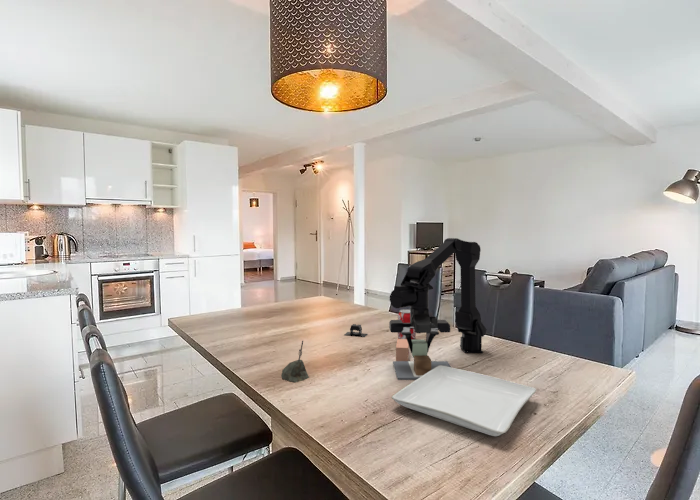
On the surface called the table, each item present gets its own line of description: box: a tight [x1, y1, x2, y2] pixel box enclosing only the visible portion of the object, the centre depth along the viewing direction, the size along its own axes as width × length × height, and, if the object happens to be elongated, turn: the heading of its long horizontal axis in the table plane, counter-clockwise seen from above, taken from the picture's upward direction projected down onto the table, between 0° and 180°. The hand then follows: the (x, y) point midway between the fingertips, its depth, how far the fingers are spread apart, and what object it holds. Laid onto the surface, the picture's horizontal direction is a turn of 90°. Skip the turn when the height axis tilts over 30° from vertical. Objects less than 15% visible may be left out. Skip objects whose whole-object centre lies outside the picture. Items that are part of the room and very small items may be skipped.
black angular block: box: [343, 323, 369, 338], centre depth 160 cm, size 12×7×5 cm, turn 71°
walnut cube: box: [413, 355, 432, 375], centre depth 116 cm, size 4×4×4 cm
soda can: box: [397, 308, 417, 340], centre depth 151 cm, size 7×7×12 cm
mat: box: [392, 360, 453, 381], centre depth 119 cm, size 18×14×1 cm
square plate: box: [391, 365, 537, 437], centre depth 96 cm, size 27×27×4 cm
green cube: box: [410, 339, 428, 359], centre depth 123 cm, size 4×4×4 cm
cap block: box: [395, 338, 410, 361], centre depth 132 cm, size 4×10×5 cm, turn 170°
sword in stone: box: [280, 340, 310, 384], centre depth 116 cm, size 10×8×12 cm
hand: (419, 352), depth 123 cm, fingers closed on green cube, 4 cm apart
